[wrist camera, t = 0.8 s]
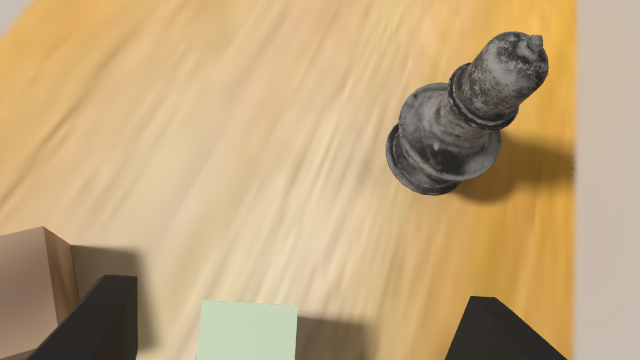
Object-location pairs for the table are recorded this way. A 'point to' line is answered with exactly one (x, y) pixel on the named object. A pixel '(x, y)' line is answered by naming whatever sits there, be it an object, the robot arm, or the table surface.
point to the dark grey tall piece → (465, 115)
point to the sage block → (246, 331)
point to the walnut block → (33, 289)
